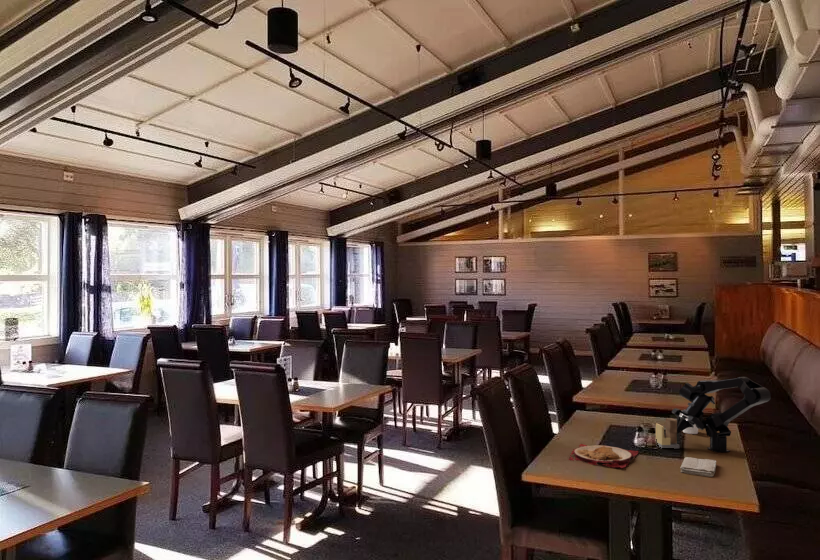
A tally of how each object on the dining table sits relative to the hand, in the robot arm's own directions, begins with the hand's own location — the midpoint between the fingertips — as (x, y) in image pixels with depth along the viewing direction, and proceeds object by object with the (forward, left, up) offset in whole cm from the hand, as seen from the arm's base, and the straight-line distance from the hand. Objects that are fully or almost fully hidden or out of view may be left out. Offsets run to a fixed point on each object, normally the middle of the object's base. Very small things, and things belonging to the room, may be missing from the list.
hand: (675, 433), depth 274 cm
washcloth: (-31, +11, -6) cm, 34 cm away
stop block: (-1, +3, -4) cm, 5 cm away
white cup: (+20, -22, -6) cm, 30 cm away
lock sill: (-1, +4, -5) cm, 7 cm away
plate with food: (-9, +41, -6) cm, 43 cm away
